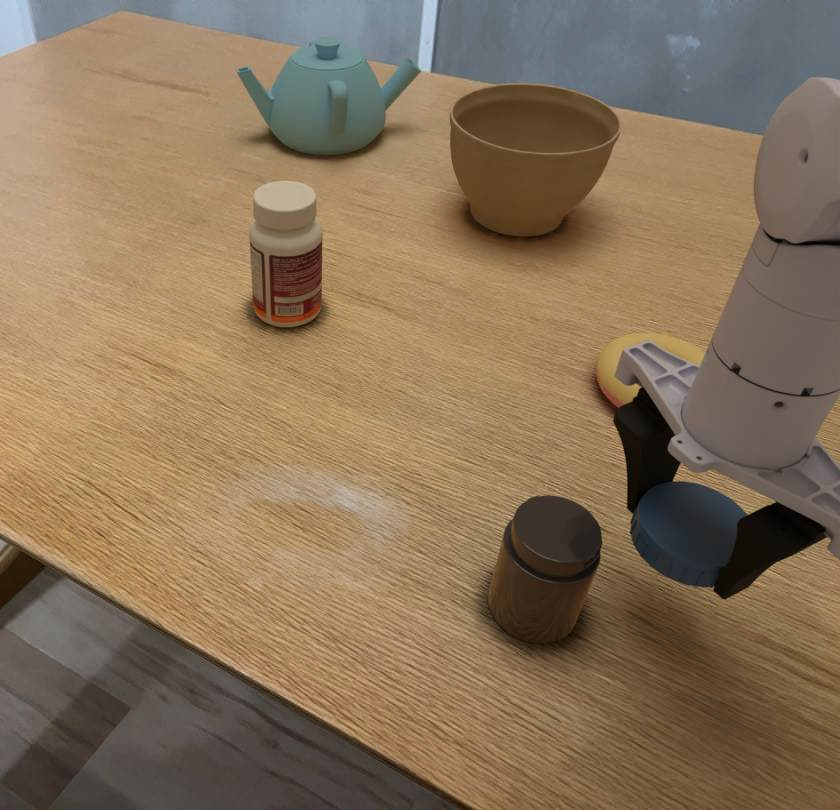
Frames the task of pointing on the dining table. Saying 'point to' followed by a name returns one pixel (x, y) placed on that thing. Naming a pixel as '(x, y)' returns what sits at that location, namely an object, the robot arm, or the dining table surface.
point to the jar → (544, 569)
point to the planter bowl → (529, 153)
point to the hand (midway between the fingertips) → (684, 544)
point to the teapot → (327, 98)
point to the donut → (613, 350)
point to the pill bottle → (286, 254)
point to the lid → (686, 531)
